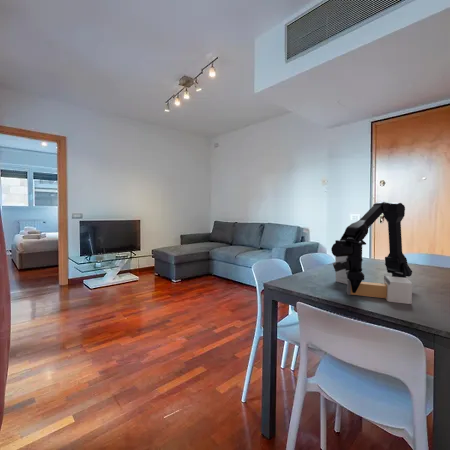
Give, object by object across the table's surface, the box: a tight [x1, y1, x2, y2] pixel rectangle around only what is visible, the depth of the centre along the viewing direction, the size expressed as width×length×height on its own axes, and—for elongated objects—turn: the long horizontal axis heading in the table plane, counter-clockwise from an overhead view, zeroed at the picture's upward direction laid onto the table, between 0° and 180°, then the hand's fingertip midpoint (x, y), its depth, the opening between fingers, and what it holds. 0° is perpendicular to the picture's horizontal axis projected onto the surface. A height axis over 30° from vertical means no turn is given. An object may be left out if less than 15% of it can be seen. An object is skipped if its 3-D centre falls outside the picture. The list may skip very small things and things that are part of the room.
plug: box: [346, 280, 387, 299], centre depth 114 cm, size 4×16×5 cm, turn 68°
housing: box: [383, 275, 413, 305], centre depth 110 cm, size 10×8×8 cm
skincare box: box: [334, 256, 349, 285], centre depth 135 cm, size 8×6×15 cm
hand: (353, 291), depth 116 cm, fingers closed on plug, 4 cm apart
